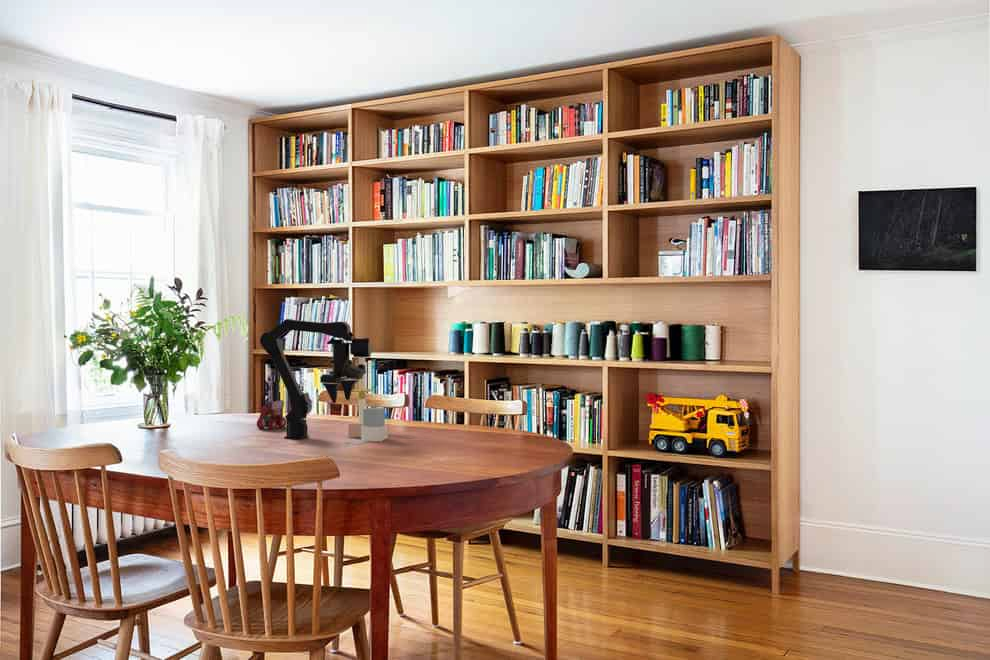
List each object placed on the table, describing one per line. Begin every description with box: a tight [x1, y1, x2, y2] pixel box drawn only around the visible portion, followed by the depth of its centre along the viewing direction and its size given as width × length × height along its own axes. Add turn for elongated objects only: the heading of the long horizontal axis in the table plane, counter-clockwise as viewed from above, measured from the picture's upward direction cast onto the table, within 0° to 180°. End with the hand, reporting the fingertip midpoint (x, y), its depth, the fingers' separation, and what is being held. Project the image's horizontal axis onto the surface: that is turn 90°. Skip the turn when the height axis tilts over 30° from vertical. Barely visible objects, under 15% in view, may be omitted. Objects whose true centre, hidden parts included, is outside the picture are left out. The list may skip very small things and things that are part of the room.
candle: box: [352, 357, 374, 422], centre depth 327 cm, size 10×10×32 cm
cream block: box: [360, 424, 388, 442], centre depth 307 cm, size 7×7×5 cm
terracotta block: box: [347, 421, 363, 438], centre depth 314 cm, size 5×5×5 cm
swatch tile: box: [341, 438, 368, 445], centre depth 300 cm, size 7×7×1 cm
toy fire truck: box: [256, 399, 287, 431], centre depth 333 cm, size 7×12×10 cm, turn 153°
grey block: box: [363, 407, 386, 427], centre depth 306 cm, size 6×6×6 cm
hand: (341, 401), depth 309 cm, fingers open, 9 cm apart
